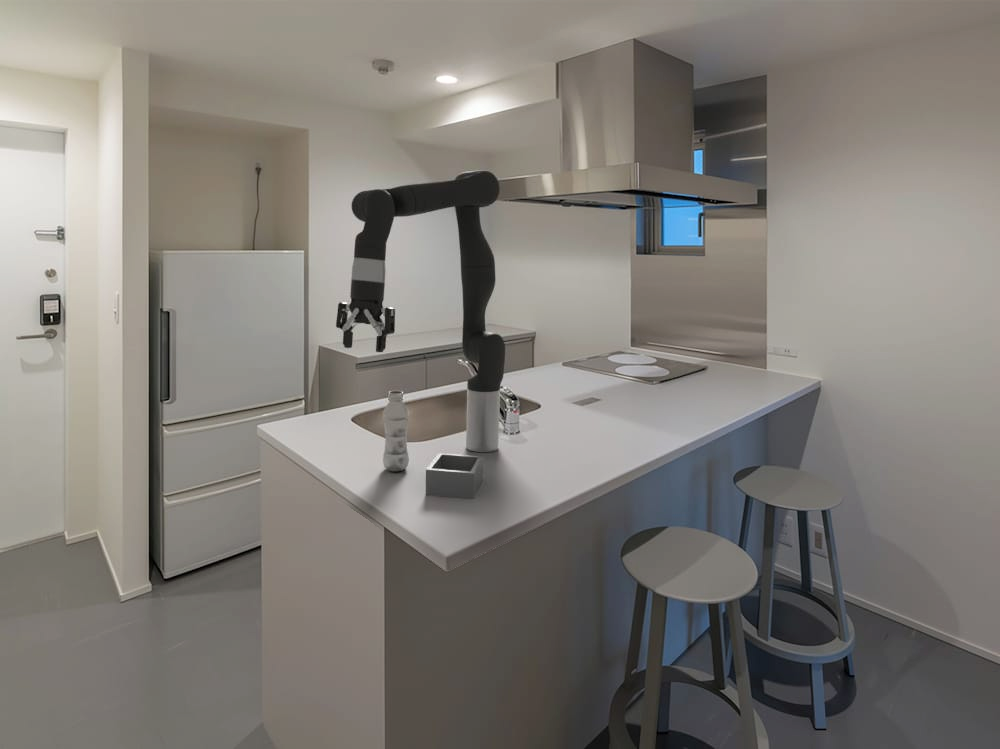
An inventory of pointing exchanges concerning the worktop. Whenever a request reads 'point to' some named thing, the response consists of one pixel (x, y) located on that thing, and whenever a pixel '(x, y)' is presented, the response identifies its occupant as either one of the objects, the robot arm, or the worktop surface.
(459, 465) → the storage caddy
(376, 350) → the robot arm
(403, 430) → the plastic bottle
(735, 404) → the worktop surface
